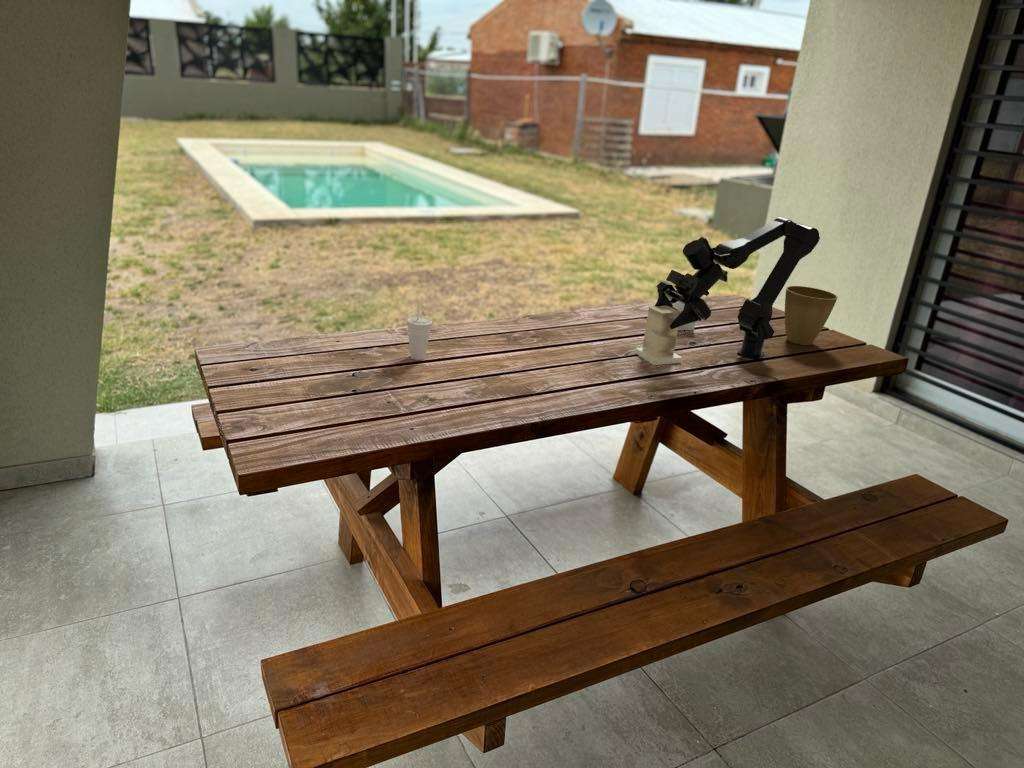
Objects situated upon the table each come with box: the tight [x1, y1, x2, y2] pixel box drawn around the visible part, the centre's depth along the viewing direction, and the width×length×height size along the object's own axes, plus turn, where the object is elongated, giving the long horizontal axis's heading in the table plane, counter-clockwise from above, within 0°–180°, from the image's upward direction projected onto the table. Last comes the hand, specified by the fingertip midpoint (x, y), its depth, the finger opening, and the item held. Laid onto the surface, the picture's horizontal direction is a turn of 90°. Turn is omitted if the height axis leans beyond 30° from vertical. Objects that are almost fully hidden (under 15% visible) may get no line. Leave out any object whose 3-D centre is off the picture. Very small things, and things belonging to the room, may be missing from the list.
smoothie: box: [406, 302, 433, 361], centre depth 185 cm, size 6×6×14 cm
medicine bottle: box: [671, 289, 696, 332], centre depth 231 cm, size 7×7×12 cm
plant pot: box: [784, 285, 838, 346], centre depth 228 cm, size 15×15×16 cm
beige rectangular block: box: [642, 305, 681, 356], centre depth 199 cm, size 6×6×12 cm
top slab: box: [634, 347, 683, 366], centre depth 201 cm, size 9×9×2 cm
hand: (660, 322), depth 197 cm, fingers open, 9 cm apart
